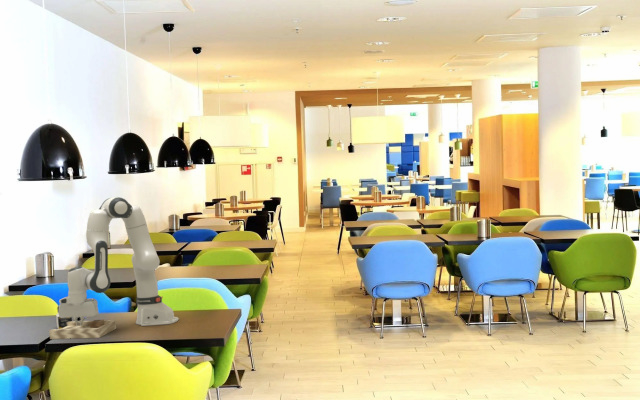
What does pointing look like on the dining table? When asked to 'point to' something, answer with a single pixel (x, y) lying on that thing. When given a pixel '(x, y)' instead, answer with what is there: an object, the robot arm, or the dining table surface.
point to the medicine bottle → (62, 321)
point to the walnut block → (96, 323)
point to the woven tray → (82, 330)
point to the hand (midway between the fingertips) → (79, 325)
